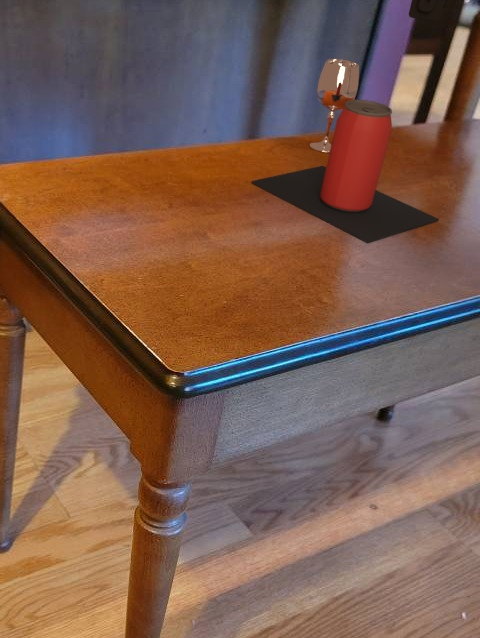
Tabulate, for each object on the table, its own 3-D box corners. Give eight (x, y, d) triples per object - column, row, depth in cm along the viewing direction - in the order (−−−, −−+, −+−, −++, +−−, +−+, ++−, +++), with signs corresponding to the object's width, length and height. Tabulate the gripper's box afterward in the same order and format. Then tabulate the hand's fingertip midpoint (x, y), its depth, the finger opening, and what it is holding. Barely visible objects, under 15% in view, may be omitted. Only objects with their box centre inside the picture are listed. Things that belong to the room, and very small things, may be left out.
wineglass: (318, 155, 110) (337, 68, 102) (298, 141, 114) (314, 58, 106) (350, 153, 112) (370, 68, 104) (329, 140, 116) (347, 57, 108)
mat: (438, 221, 94) (439, 218, 94) (367, 243, 86) (368, 240, 86) (322, 167, 105) (322, 165, 105) (251, 183, 98) (251, 180, 98)
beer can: (323, 211, 92) (346, 111, 84) (315, 191, 97) (336, 95, 90) (375, 216, 92) (402, 117, 85) (364, 196, 97) (389, 101, 90)
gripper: (518, -190, 64) (457, 30, 74) (519, -179, 77) (467, 6, 87) (429, -196, 65) (382, 19, 76) (445, -184, 79) (403, -3, 89)
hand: (428, 12), depth 81 cm, fingers open, 9 cm apart
